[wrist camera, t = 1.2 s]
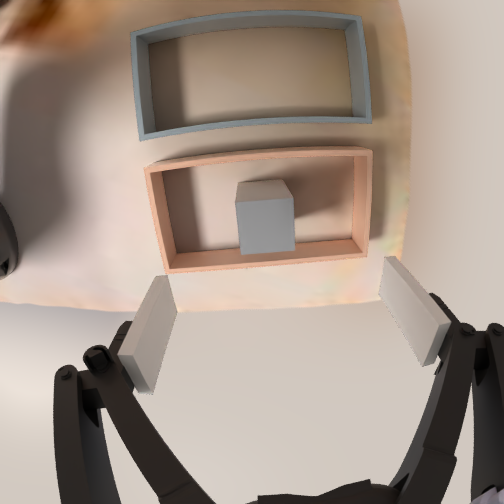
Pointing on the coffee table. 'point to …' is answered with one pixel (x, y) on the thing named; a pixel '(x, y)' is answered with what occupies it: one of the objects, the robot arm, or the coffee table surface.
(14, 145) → the coffee table surface
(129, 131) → the coffee table surface
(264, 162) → the coffee table surface
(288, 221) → the stone block
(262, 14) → the trough
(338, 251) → the trough
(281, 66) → the coffee table surface
